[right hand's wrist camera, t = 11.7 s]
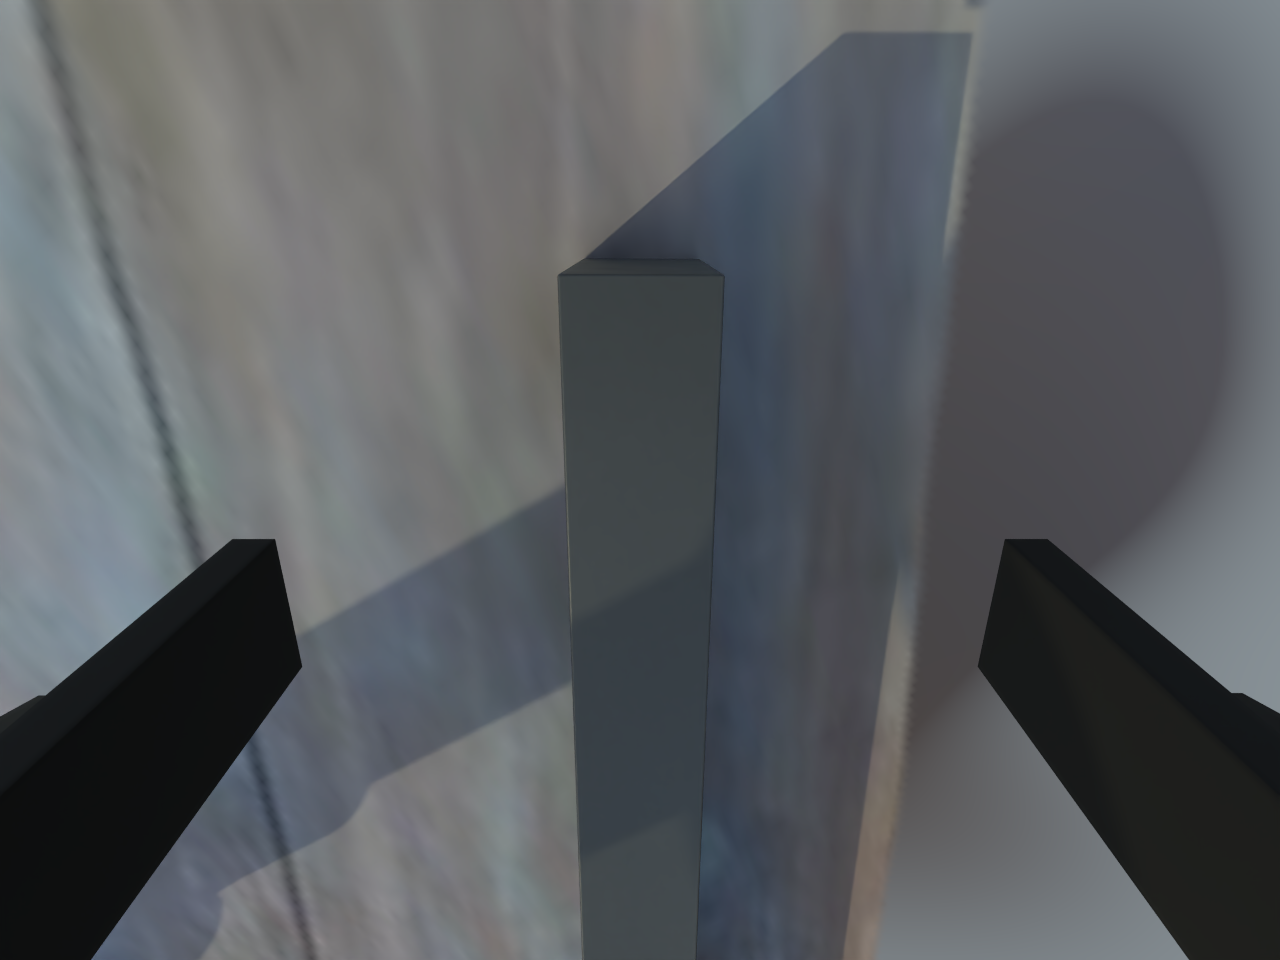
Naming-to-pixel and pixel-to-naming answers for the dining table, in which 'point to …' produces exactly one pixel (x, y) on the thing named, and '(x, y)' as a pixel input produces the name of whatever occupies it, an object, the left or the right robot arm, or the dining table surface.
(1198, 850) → the right robot arm
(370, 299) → the dining table surface
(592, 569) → the post
